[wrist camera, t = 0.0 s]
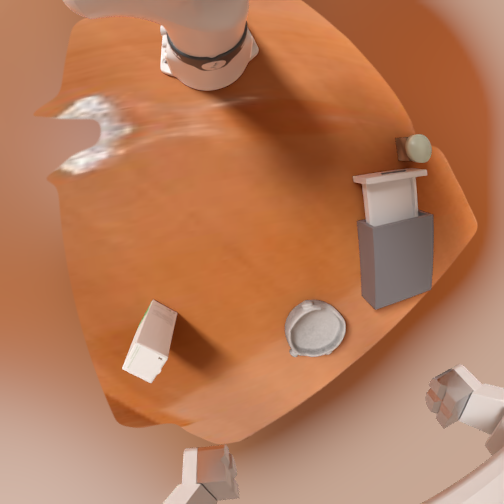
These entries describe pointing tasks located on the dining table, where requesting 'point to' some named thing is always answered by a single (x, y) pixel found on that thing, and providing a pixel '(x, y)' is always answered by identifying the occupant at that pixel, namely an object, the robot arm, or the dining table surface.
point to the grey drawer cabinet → (396, 259)
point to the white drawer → (390, 195)
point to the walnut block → (402, 149)
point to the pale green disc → (418, 148)
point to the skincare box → (151, 342)
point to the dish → (314, 329)
